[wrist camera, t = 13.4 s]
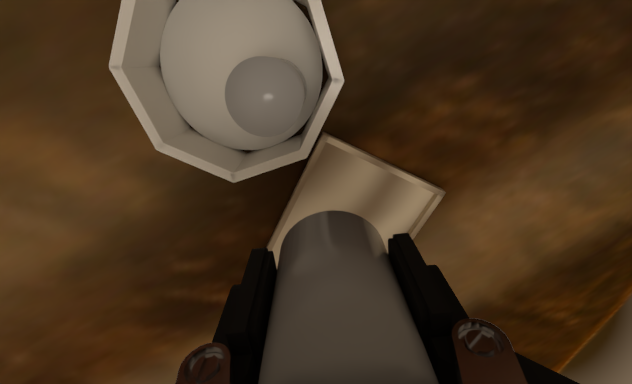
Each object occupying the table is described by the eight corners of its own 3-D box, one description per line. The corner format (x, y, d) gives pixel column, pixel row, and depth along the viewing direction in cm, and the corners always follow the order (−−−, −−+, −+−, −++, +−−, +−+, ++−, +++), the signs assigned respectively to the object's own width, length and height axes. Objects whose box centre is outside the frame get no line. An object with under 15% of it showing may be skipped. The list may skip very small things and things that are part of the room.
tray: (441, 188, 27) (446, 192, 26) (356, 310, 33) (357, 317, 32) (323, 131, 25) (323, 133, 24) (253, 272, 31) (251, 278, 30)
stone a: (255, 50, 22) (231, 45, 16) (313, 67, 22) (310, 69, 17) (244, 110, 24) (219, 125, 18) (298, 125, 24) (292, 145, 18)
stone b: (383, 204, 12) (455, 349, 6) (385, 292, 13) (443, 471, 8) (271, 216, 12) (231, 369, 6) (288, 302, 14) (270, 484, 8)
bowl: (362, 26, 22) (376, 16, 18) (289, 179, 27) (284, 204, 22) (183, -76, 20) (145, -118, 15) (137, 113, 24) (96, 125, 20)
